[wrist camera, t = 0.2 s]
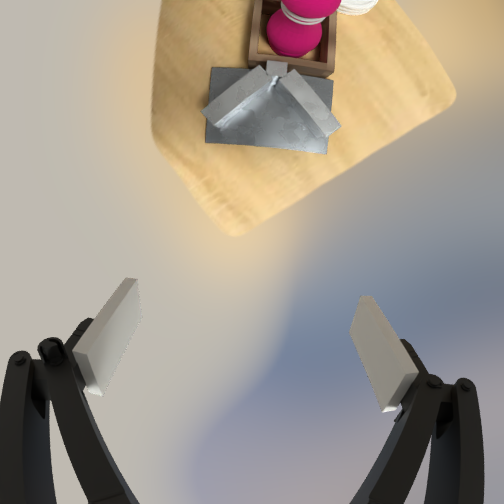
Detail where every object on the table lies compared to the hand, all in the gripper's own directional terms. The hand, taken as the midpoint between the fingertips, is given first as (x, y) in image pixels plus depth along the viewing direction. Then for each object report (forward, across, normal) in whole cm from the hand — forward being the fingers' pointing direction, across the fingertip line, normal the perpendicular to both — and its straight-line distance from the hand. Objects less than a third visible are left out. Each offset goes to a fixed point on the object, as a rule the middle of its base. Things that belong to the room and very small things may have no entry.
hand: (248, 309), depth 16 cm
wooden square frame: (+28, +4, +25) cm, 38 cm away
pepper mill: (+28, +4, +25) cm, 38 cm away
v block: (+28, +2, +14) cm, 31 cm away
